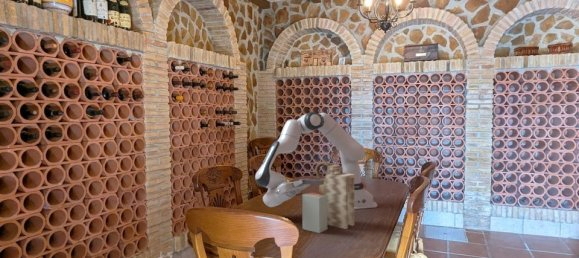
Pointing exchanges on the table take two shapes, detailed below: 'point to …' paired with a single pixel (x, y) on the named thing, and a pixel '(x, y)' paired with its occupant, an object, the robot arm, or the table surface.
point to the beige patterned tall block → (339, 197)
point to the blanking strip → (312, 181)
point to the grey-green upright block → (314, 212)
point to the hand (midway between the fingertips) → (305, 180)
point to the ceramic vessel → (322, 187)
